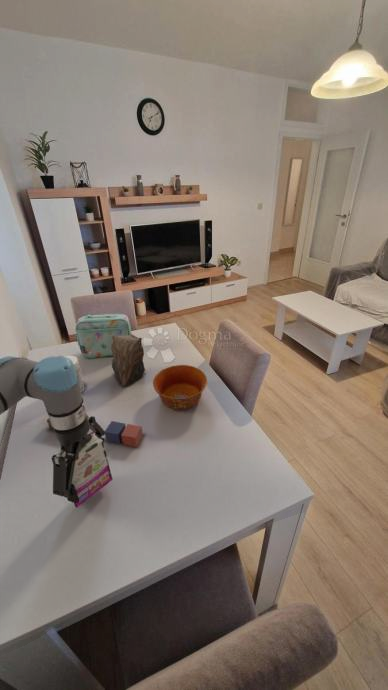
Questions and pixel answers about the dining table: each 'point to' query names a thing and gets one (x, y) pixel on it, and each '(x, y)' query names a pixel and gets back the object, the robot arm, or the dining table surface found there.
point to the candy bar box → (90, 469)
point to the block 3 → (132, 435)
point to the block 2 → (114, 432)
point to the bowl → (180, 385)
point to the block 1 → (49, 424)
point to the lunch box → (100, 333)
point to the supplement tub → (77, 370)
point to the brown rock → (127, 358)
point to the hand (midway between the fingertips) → (87, 478)
